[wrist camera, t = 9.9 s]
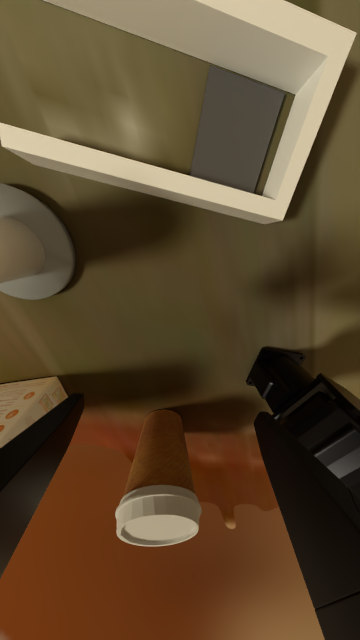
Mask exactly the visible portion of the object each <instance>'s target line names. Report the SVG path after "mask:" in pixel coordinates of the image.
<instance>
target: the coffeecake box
mask: <svg viewBox="0 0 360 640" xmlns="http://www.w3.org/2000/svg"><path fill="white" fill-rule="evenodd" d="M67 397H68V396H67V394H66V393H65V390H64V388H63V386H62V385H61V383H60V381H59V379H58V378H57V377H49V378H42V379H35V380H28V381H21V382H14V383H7V384H0V448H1V447H3V446H4V445H5V444H7V443H8V442H9V441H10V440H12V439H13V438H14V437H16V436H17V435H18V434H20V433H21V432H22V431H24V430H25V429H26V428H28V427H29V426H30V425H32V424H33V423H34V422H36V421H37V420H38V419H40V418H41V417H42V416H44V415H45V414H46V413H48V412H49V411H50V410H51V409H53V408H54V407H55V406H57V405H58V404H59V403H61V402H62V401H63V400H65V399H66V398H67Z"/></svg>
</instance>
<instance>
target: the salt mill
mask: <svg viewBox="0 0 360 640" xmlns="http://www.w3.org/2000/svg"><path fill="white" fill-rule="evenodd" d="M44 263H45V252H44V248H43V246H42V243H41V242H40V240H39V238H38V237H37V235H36V234H35V233H34V232H33V231H32V230H31V229H30V228H29V227H28V226H27V225H25V224H24V223H22V222H20V221H18V220H16V219H13V218H10V217H4V216H0V283H5V282H9V281H13V280H17V279H22V278H26V277H30V276H34V275H36V274H37V273H39V272H40V271H41V270H42V268H43V266H44Z"/></svg>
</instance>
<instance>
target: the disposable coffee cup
mask: <svg viewBox="0 0 360 640" xmlns="http://www.w3.org/2000/svg"><path fill="white" fill-rule="evenodd" d="M200 514H201V506H200V504H199V502H198V498H197V497H196V495H195V490H194V485H193V479H192V474H191V468H190V463H189V458H188V452H187V447H186V442H185V436H184V431H183V425H182V420H181V417H180V416H179V415H178V414H177V413H176V412H174V411H171V410H165V409H163V410H156V411H153V412H151V413H150V414H148V415H147V416H146V418H145V421H144V424H143V428H142V431H141V435H140V439H139V442H138V445H137V449H136V453H135V457H134V460H133V464H132V468H131V471H130V475H129V478H128V482H127V485H126V489H125V492H124V496H123V498H122V499H121V502H120V505H119V506H118V507H117V510H116V513H115V515H116V519H117V536H118V537H119V538H120V539H121V540H123V541H124V542H127V543H130V544H134V545H139V546H165V545H172V544H176V543H180V542H183V541H186V540H188V539H190V538H192V537H193V536H194V535H196V534H197V532H198V528H199V516H200Z"/></svg>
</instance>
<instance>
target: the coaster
mask: <svg viewBox="0 0 360 640" xmlns="http://www.w3.org/2000/svg"><path fill="white" fill-rule="evenodd" d="M0 216H4V217H10V218H13V219H16V220H18V221H20V222H22V223H24V224H25V225H27V226H28V227H29V228H30V229H31V230H32V231H33V232H34V233H35V234H36V235H37V237H38V238H39V240H40V242H41V243H42V246H43V248H44V252H45V263H44V266H43V268H42V270H41V271H40V272H39V273H37V274H36V275H34V276H30V277H26V278H22V279H17V280H13V281H9V282H5V283H0V291H2V292H4V293H6V294H8V295H11V296H14V297H18V298H22V299H43V298H46V297H49V296H52V295H54V294H56V293H58V292H60V291H61V290H63V289H64V288H65V287H66V286H67V285H68V284H69V283H70V281H71V279H72V277H73V275H74V272H75V267H76V255H75V249H74V245H73V242H72V239H71V237H70V235H69V233H68V231H67V229H66V227H65V226H64V224H63V223H62V221H61V220H60V219H59V217H58V216H57V215H56V214H55V213H54V212H53V211H52V210H51V209H50V208H49V207H48V206H47V205H46V204H45V203H43V202H42V201H41V200H39V199H38V198H36V197H35V196H33V195H31V194H29V193H27V192H25V191H23V190H20V189H17V188H15V187H12V186H8V185H5V184H2V183H0Z"/></svg>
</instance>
